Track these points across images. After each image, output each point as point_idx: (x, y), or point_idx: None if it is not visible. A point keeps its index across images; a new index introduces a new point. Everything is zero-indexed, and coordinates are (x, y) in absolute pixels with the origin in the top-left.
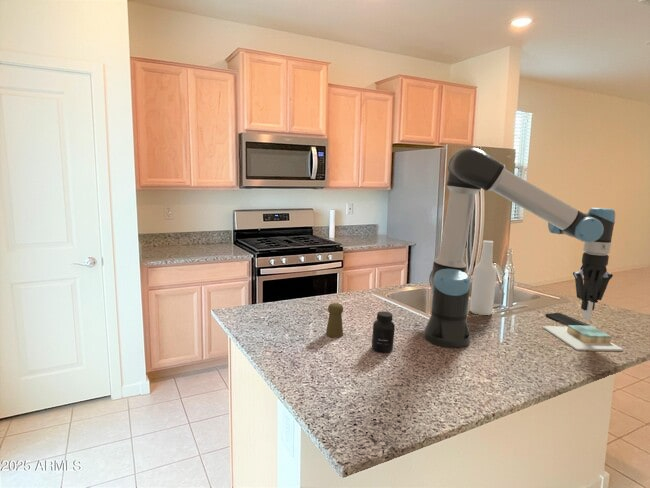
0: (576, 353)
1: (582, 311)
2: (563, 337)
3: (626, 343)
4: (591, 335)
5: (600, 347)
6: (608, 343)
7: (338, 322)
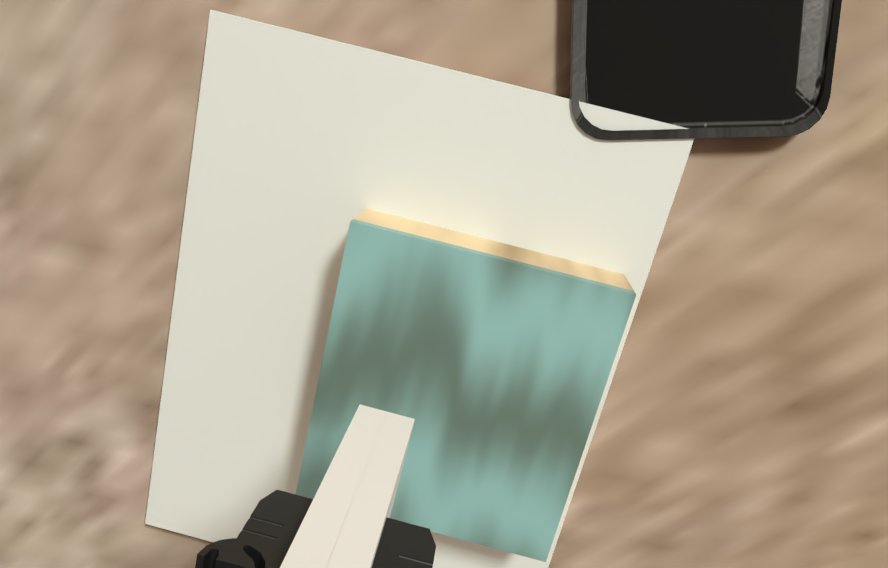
0: (112, 549)
1: (336, 452)
2: (205, 324)
3: (729, 528)
4: None
5: None
6: None
7: None
